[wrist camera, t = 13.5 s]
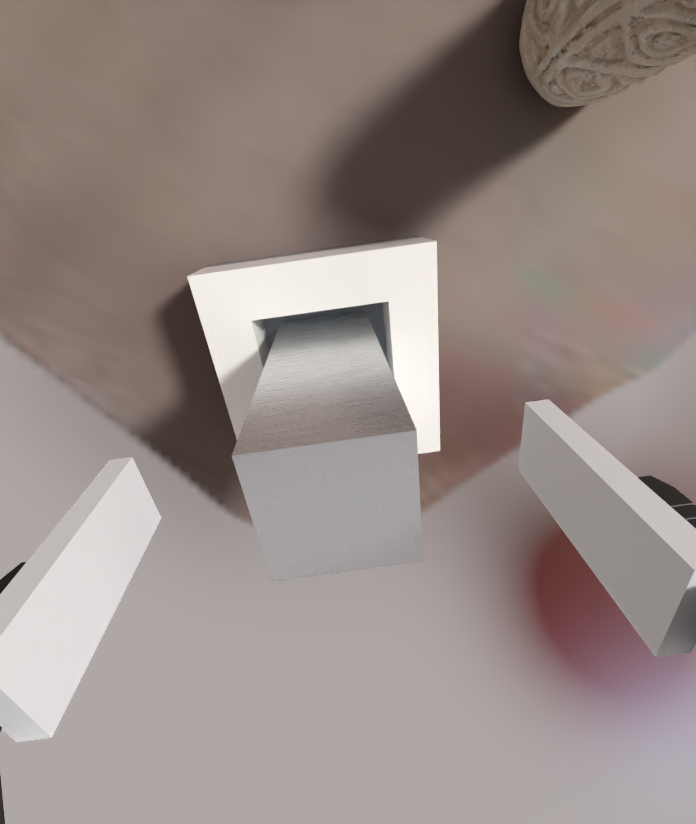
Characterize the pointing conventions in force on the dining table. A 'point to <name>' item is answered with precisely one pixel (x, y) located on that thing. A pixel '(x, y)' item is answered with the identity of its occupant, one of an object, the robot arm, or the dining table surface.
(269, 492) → the square peg
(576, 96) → the carving
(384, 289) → the bore block
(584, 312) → the dining table surface
